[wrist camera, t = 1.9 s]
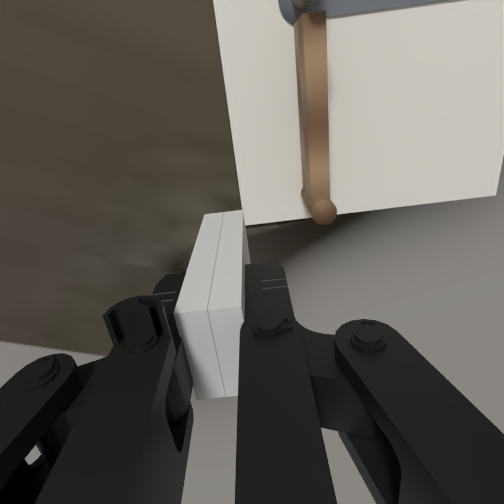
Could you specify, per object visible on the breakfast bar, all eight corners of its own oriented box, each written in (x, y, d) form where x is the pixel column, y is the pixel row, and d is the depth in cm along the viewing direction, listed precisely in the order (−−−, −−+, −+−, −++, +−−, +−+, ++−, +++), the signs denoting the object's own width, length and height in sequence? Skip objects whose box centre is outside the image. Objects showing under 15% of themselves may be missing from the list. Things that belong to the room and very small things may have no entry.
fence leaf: (290, 24, 24) (301, 10, 19) (316, 21, 24) (334, 5, 19) (301, 204, 29) (312, 226, 25) (322, 201, 29) (337, 223, 25)
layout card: (244, 223, 31) (244, 226, 31) (178, -251, 19) (177, -260, 18) (492, 194, 30) (497, 195, 30) (590, -320, 18) (600, -332, 18)
